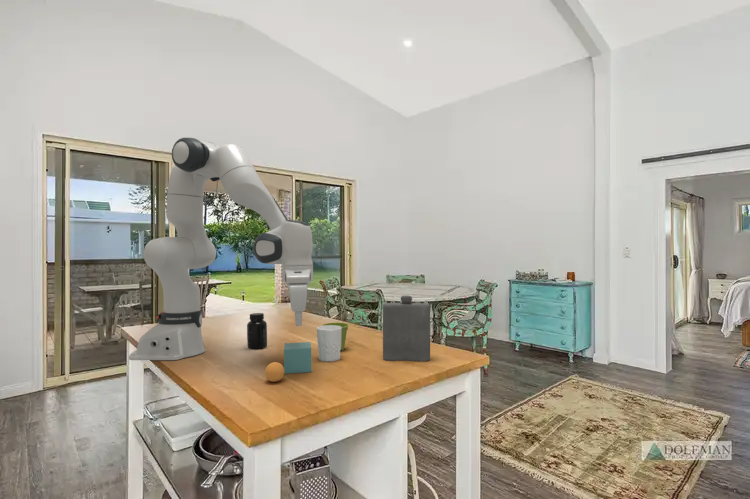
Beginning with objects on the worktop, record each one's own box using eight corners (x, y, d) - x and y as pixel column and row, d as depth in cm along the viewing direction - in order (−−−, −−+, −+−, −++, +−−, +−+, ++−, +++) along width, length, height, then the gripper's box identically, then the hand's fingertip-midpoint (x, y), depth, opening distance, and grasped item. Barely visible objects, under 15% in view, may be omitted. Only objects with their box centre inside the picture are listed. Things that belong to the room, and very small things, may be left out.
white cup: (337, 363, 123) (337, 330, 123) (313, 361, 125) (313, 329, 125) (344, 356, 131) (344, 325, 131) (321, 355, 133) (321, 324, 133)
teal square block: (283, 373, 113) (283, 349, 113) (284, 365, 120) (284, 343, 120) (311, 372, 114) (311, 348, 114) (310, 364, 122) (310, 342, 122)
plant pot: (348, 353, 135) (347, 327, 135) (319, 353, 135) (319, 327, 135) (350, 346, 144) (350, 322, 144) (323, 346, 144) (323, 322, 144)
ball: (264, 385, 103) (264, 365, 103) (265, 378, 108) (265, 360, 108) (284, 383, 104) (284, 364, 104) (284, 377, 109) (284, 359, 109)
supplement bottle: (261, 344, 148) (261, 311, 148) (270, 347, 143) (270, 313, 143) (243, 347, 143) (243, 313, 143) (252, 350, 138) (252, 316, 138)
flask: (429, 357, 130) (429, 295, 130) (430, 362, 124) (430, 297, 124) (383, 355, 131) (383, 294, 131) (382, 360, 126) (382, 296, 126)
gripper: (287, 273, 127) (288, 317, 127) (285, 277, 107) (286, 329, 107) (307, 273, 128) (308, 316, 128) (310, 277, 108) (310, 328, 108)
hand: (298, 322), depth 117 cm, fingers open, 8 cm apart
